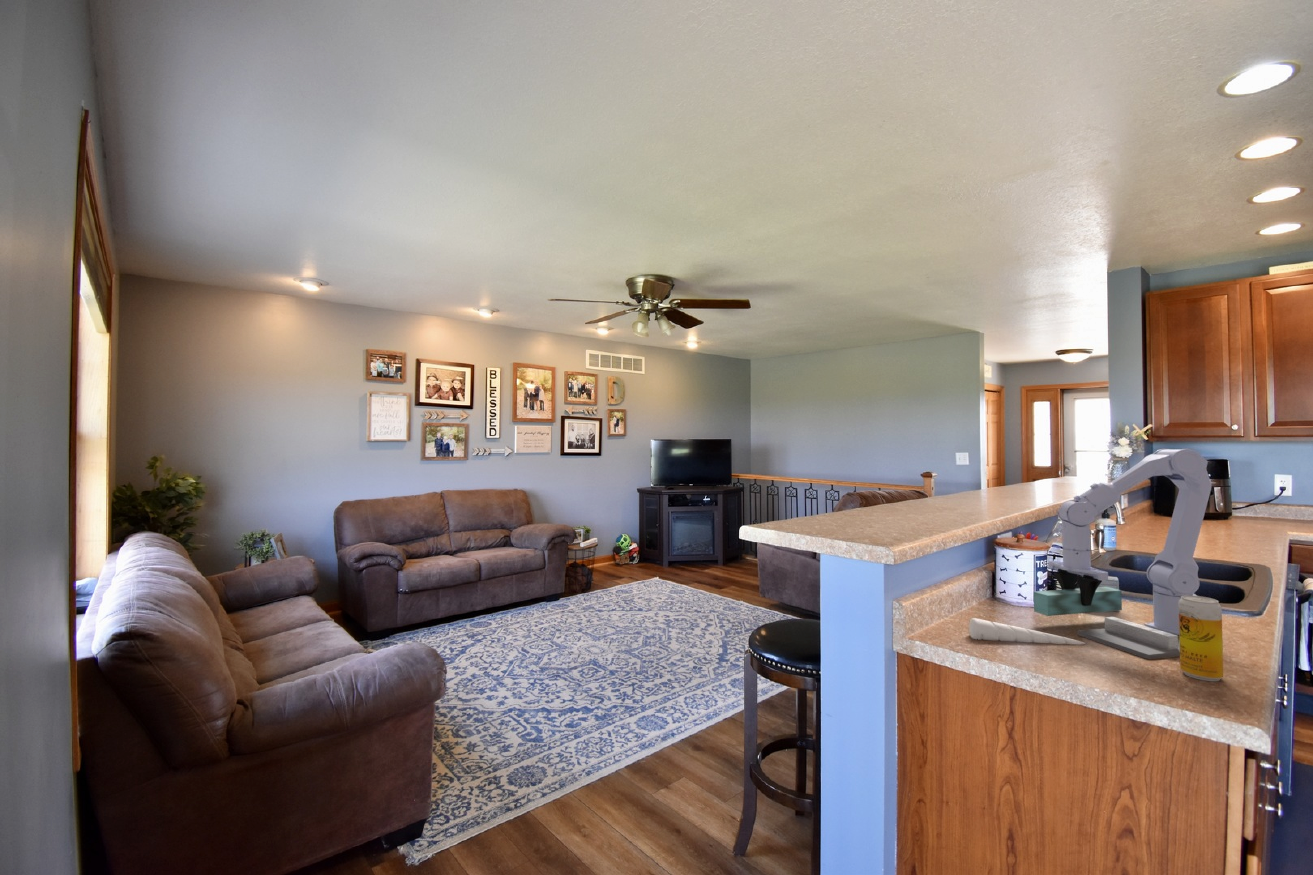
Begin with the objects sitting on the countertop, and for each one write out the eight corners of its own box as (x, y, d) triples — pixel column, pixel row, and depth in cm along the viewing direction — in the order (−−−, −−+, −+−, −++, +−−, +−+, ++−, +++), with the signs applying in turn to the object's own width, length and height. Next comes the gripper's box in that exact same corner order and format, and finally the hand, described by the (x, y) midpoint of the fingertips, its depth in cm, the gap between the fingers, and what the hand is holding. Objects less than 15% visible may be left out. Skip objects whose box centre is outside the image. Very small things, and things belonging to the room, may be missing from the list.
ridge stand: (1131, 629, 138) (1131, 613, 138) (1208, 653, 122) (1207, 634, 122) (1077, 634, 134) (1077, 618, 135) (1148, 659, 119) (1148, 640, 119)
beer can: (1171, 670, 113) (1169, 595, 113) (1199, 669, 114) (1197, 594, 114) (1203, 683, 107) (1201, 603, 107) (1232, 681, 107) (1230, 602, 108)
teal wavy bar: (1106, 605, 147) (1106, 586, 147) (1121, 610, 143) (1121, 590, 143) (1034, 611, 143) (1033, 591, 143) (1047, 615, 139) (1047, 595, 139)
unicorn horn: (1093, 651, 125) (1093, 629, 125) (973, 642, 131) (972, 621, 132) (1084, 644, 129) (1083, 623, 129) (968, 635, 136) (967, 615, 136)
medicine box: (1119, 608, 156) (1118, 577, 156) (1119, 612, 152) (1118, 580, 153) (1083, 603, 161) (1082, 573, 161) (1082, 607, 157) (1082, 576, 157)
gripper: (1038, 545, 150) (1039, 596, 149) (1090, 554, 135) (1092, 611, 135) (1060, 543, 151) (1061, 594, 151) (1114, 553, 137) (1116, 609, 137)
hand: (1077, 602), depth 143 cm, fingers closed on teal wavy bar, 4 cm apart
